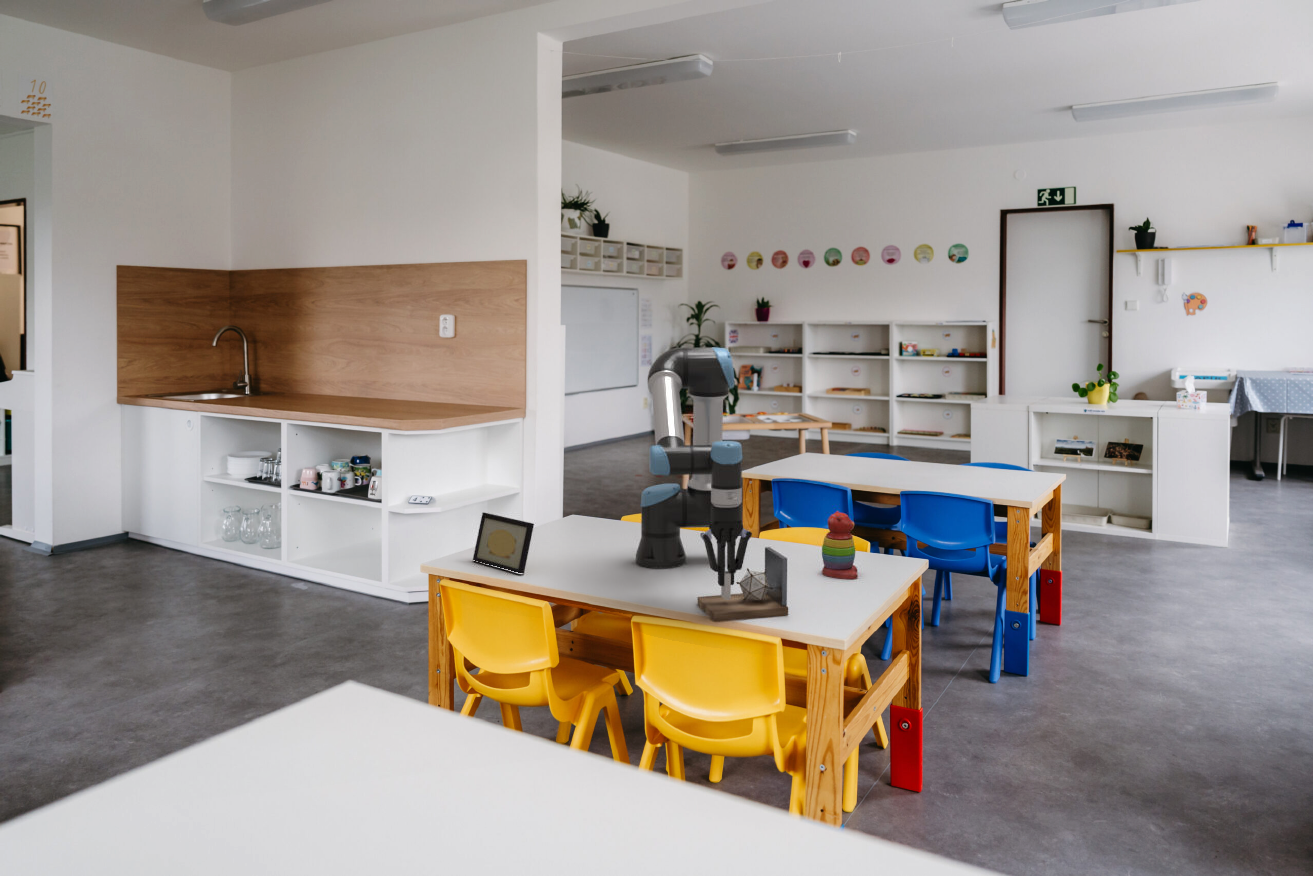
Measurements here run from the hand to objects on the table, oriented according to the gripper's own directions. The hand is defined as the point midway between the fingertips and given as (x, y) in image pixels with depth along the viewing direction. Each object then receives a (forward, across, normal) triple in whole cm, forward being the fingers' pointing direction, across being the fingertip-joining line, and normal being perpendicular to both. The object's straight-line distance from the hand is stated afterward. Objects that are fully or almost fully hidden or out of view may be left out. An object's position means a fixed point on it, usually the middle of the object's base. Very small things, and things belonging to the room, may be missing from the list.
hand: (725, 597), depth 224 cm
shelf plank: (+3, +4, 0) cm, 5 cm away
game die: (+2, +8, 0) cm, 8 cm away
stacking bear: (+4, +42, +23) cm, 49 cm away
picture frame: (+4, -48, +59) cm, 76 cm away
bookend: (+1, +13, 0) cm, 13 cm away
